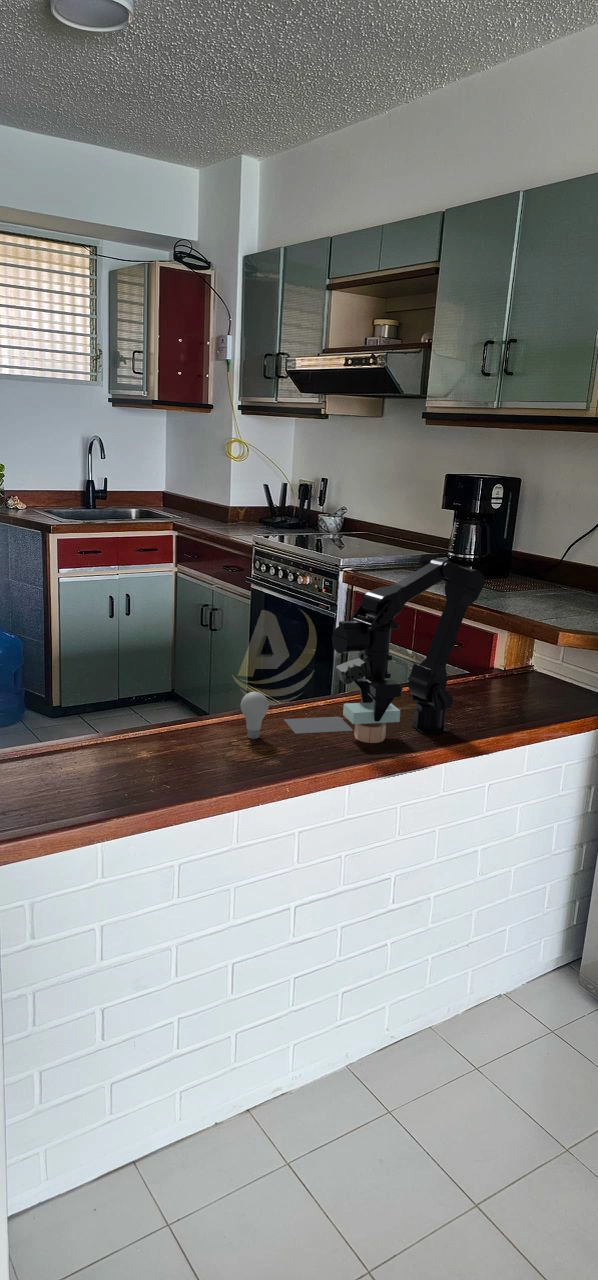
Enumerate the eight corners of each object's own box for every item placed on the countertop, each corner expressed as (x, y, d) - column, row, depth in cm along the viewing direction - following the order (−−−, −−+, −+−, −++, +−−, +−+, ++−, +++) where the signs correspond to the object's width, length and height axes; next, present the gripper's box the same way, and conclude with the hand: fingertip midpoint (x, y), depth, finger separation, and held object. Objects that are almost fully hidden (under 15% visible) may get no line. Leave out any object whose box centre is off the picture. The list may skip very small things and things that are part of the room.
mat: (339, 718, 209) (339, 716, 209) (353, 733, 200) (353, 730, 200) (283, 721, 205) (283, 719, 205) (295, 736, 196) (295, 733, 196)
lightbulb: (263, 746, 189) (265, 697, 186) (236, 742, 190) (237, 694, 187) (269, 736, 195) (271, 689, 192) (243, 733, 196) (245, 687, 193)
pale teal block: (388, 712, 199) (389, 701, 199) (399, 721, 193) (400, 710, 193) (343, 714, 196) (343, 703, 196) (353, 724, 190) (353, 712, 190)
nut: (377, 734, 200) (379, 717, 199) (388, 744, 194) (389, 727, 193) (350, 735, 198) (351, 719, 197) (360, 745, 192) (362, 728, 191)
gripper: (328, 639, 197) (324, 705, 201) (356, 660, 180) (351, 732, 184) (374, 638, 201) (369, 703, 204) (406, 659, 183) (400, 729, 187)
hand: (371, 716), depth 195 cm, fingers closed on pale teal block, 6 cm apart
